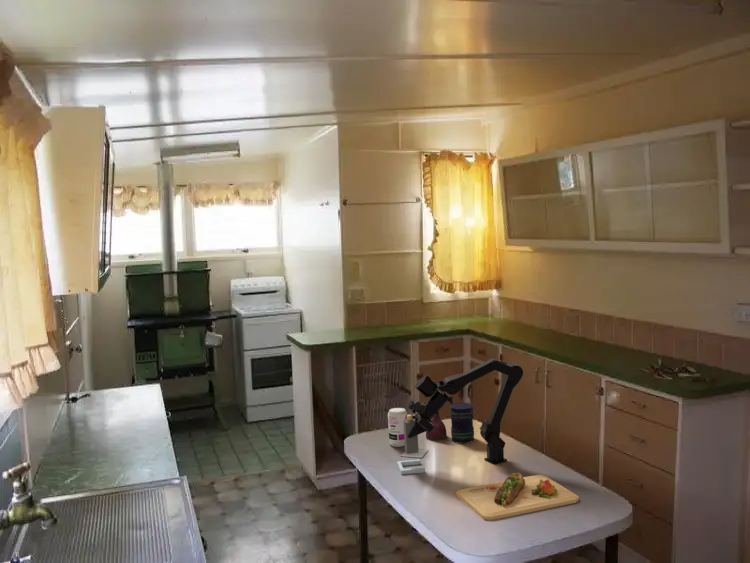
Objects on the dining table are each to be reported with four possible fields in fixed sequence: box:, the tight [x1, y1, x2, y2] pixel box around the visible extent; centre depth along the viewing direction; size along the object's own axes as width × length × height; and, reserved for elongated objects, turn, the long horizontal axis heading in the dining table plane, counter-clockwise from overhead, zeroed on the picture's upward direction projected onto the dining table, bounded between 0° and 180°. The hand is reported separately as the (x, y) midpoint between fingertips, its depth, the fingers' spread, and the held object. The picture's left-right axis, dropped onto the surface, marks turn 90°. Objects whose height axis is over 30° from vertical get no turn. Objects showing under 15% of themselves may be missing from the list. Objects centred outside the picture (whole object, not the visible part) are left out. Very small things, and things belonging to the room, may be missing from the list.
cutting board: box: [455, 472, 580, 521], centre depth 219 cm, size 35×23×8 cm
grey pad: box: [400, 448, 429, 459], centre depth 267 cm, size 9×9×1 cm
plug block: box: [403, 414, 419, 454], centre depth 250 cm, size 4×4×14 cm
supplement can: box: [387, 407, 408, 448], centre depth 279 cm, size 8×8×15 cm
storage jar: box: [449, 402, 475, 444], centre depth 281 cm, size 10×10×15 cm
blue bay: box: [396, 458, 426, 475], centre depth 251 cm, size 9×10×2 cm
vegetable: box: [425, 413, 448, 441], centre depth 285 cm, size 10×9×14 cm
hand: (407, 435), depth 250 cm, fingers closed on plug block, 4 cm apart
